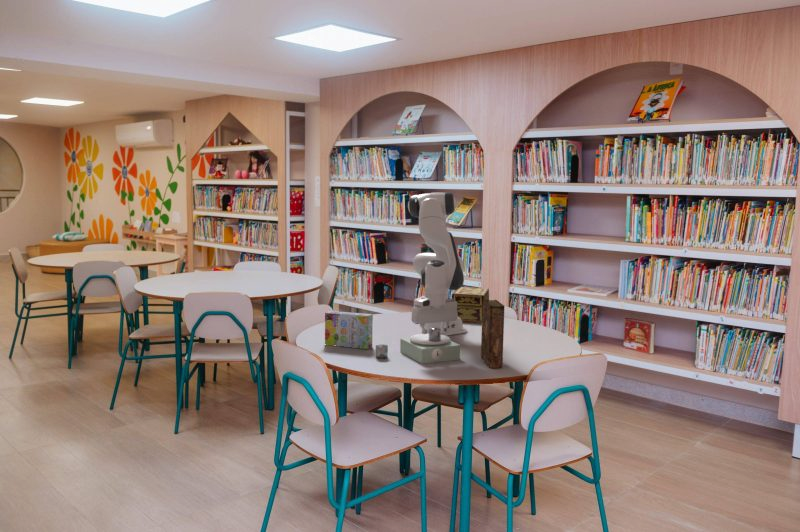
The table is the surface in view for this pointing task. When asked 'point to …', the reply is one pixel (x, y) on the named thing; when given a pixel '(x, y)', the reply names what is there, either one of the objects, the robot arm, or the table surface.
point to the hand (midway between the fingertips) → (434, 332)
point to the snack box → (348, 329)
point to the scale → (429, 349)
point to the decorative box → (470, 303)
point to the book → (492, 333)
